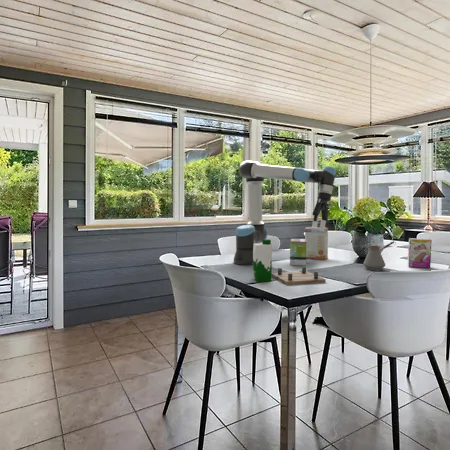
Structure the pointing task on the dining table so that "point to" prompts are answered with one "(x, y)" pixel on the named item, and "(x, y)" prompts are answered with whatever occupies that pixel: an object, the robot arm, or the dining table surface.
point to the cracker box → (316, 243)
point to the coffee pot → (375, 258)
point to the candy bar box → (419, 253)
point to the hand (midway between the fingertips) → (318, 229)
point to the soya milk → (262, 261)
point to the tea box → (298, 251)
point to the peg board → (298, 277)
